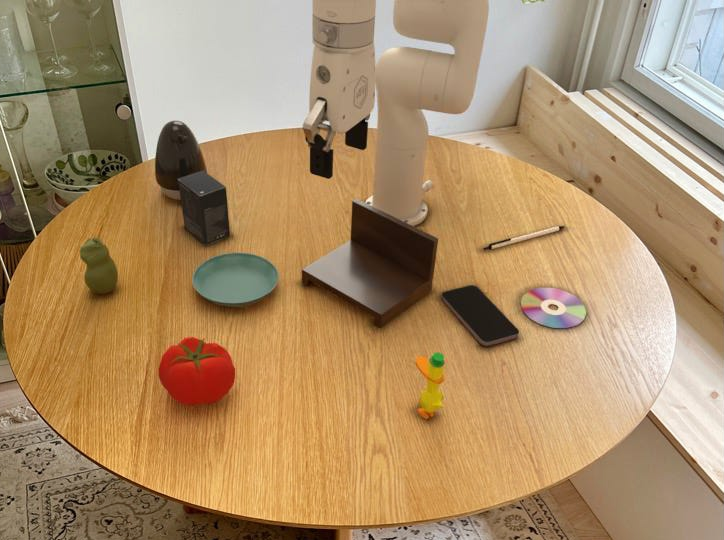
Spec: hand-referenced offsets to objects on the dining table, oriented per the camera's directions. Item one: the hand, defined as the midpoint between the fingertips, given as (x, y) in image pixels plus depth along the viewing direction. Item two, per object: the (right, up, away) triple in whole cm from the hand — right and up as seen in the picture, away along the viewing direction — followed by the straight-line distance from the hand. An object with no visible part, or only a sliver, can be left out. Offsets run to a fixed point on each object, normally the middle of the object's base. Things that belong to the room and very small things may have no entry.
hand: (338, 160), depth 103 cm
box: (-25, -2, +40) cm, 47 cm away
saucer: (-18, -14, +28) cm, 36 cm away
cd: (+37, -18, +27) cm, 49 cm away
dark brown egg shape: (-32, +8, +50) cm, 60 cm away
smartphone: (+23, -19, +24) cm, 39 cm away
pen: (+35, -3, +42) cm, 55 cm away
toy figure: (+13, -35, +8) cm, 38 cm away
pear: (-41, -15, +26) cm, 51 cm away
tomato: (-21, -32, +9) cm, 39 cm away
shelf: (+5, -14, +29) cm, 32 cm away
